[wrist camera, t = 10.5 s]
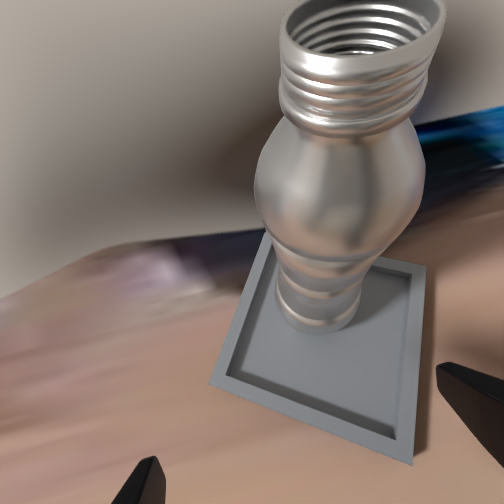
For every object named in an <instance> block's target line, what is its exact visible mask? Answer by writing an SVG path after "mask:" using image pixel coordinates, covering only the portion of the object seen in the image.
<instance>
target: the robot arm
mask: <svg viewBox="0 0 504 504" xmlns="http://www.w3.org/2000/svg"><path fill="white" fill-rule="evenodd" d="M436 377H437V387H438V389H439V392H440V393H441V395H442V396H443V397H444V398H445V400H446V401H447V402H448V403H449V405H450V406H451V407H452V408H453V410H454V411H455V412H456V413H457V415H458V416H459V417H460V418H461V420H462V421H463V422H464V423H465V425H466V426H467V427H468V428H469V430H470V431H471V432H472V433H473V435H474V436H475V437H476V438H477V439H478V441H479V442H480V443H481V444H482V445H483V446H484V447H485V449H486V450H487V451H488V452H489V453H490V454H491V455H492V456H493V457H494V458H495V459H496V460H497V461H498V463H499V464H500V465H501V466H502V467H503V468H504V380H502V379H499V378H496V377H493V376H490V375H487V374H484V373H482V372H479V371H476V370H473V369H470V368H467V367H464V366H461V365H458V364H456V363H453V362H445V363H442V364H439V365H437V366H436ZM165 496H166V478H165V474H164V472H163V470H162V467H161V465H160V463H159V461H158V459H157V457H156V456H150V457H147V458H144V459H142V460H141V461H140V462H139V463H138V465H137V466H136V468H135V469H134V471H133V472H132V473H131V475H130V476H129V478H128V479H127V481H126V482H125V484H124V485H123V487H122V488H121V490H120V491H119V493H118V494H117V496H116V497H115V499H114V500H113V502H112V503H111V504H165Z"/></svg>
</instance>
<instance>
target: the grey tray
mask: <svg viewBox="0 0 504 504" xmlns="http://www.w3.org/2000/svg"><path fill="white" fill-rule="evenodd" d="M426 268H427V266H424V265H420V264H415V263H410V262H405V261H401V260H396V259H391V258H386V257H382V256H379V257H378V258H377V259H376V260H375V261H374V262H373V264H372V265H371V267H370V268H369V270H368V271H367V273H366V274H365V276H364V278H363V282H362V285H361V287H362V289H361V298H360V303H359V306H358V309H357V312H356V313H355V315H354V317H353V318H352V320H351V321H350V322H349V323H348V324H347V325H346V326H344V327H343V328H341V329H340V330H338V331H335V332H333V333H330V334H327V335H321V336H315V335H308V334H304V333H302V332H300V331H298V330H296V329H295V328H294V327H292V326H291V325H290V324H289V323H288V322H287V321H286V320H285V319H284V318H283V316H282V315H281V313H280V312H279V310H278V307H277V304H276V301H275V282H276V277H277V273H278V260H277V257H276V253H275V249H274V246H273V244H272V242H271V239H270V237H269V235H268V233H267V232H265V234H264V236H263V239H262V242H261V244H260V247H259V250H258V253H257V255H256V258H255V261H254V263H253V266H252V269H251V271H250V274H249V277H248V279H247V282H246V285H245V287H244V290H243V293H242V295H241V298H240V301H239V303H238V306H237V309H236V312H235V314H234V317H233V320H232V322H231V325H230V328H229V330H228V333H227V336H226V338H225V341H224V344H223V346H222V349H221V352H220V354H219V357H218V360H217V363H216V365H215V368H214V371H213V373H212V376H211V379H210V381H209V385H212V386H214V387H217V388H219V389H222V390H224V391H227V392H229V393H232V394H234V395H237V396H239V397H242V398H244V399H247V400H249V401H252V402H254V403H257V404H259V405H262V406H264V407H267V408H269V409H272V410H274V411H277V412H279V413H281V414H284V415H286V416H289V417H291V418H294V419H296V420H299V421H301V422H304V423H306V424H309V425H311V426H314V427H316V428H319V429H321V430H324V431H326V432H329V433H331V434H334V435H336V436H339V437H341V438H344V439H346V440H349V441H351V442H354V443H356V444H359V445H361V446H364V447H366V448H369V449H371V450H373V451H376V452H378V453H381V454H383V455H386V456H388V457H391V458H393V459H396V460H398V461H401V462H403V463H406V464H408V465H411V466H412V464H413V450H414V436H415V422H416V408H417V394H418V380H419V366H420V352H421V338H422V324H423V310H424V296H425V282H426Z"/></svg>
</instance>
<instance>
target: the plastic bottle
mask: <svg viewBox="0 0 504 504" xmlns="http://www.w3.org/2000/svg"><path fill="white" fill-rule="evenodd" d="M446 16H447V4H446V2H445V0H298V1H297V2H296V3H295V4H293V5H292V6H291V7H290V8H289V9H288V10H287V12H286V13H285V14H284V16H283V19H282V20H281V27H280V38H279V42H280V56H281V57H280V58H281V72H282V74H281V77H280V79H279V99H280V105H281V109H282V111H283V113H284V115H285V116H284V117H283V118H282V119H281V121H280V122H279V123H278V125H277V126H276V128H275V129H274V131H273V132H272V134H271V136H270V138H269V139H268V141H267V143H266V145H265V146H264V148H263V150H262V152H261V155H260V158H259V160H258V165H257V170H256V175H255V183H254V194H255V201H256V204H257V207H258V211H259V214H260V217H261V219H262V222H263V224H264V226H265V228H266V231H267V233H268V235H269V237H270V239H271V242H272V244H273V246H274V249H275V253H276V257H277V260H278V273H277V277H276V282H275V301H276V304H277V307H278V310H279V312H280V313H281V315H282V316H283V318H284V319H285V320H286V321H287V322H288V323H289V324H290V325H291V326H292V327H294V328H295V329H296V330H298V331H300V332H302V333H304V334H308V335H315V336H321V335H327V334H330V333H333V332H335V331H338V330H340V329H341V328H343V327H344V326H346V325H347V324H348V323H349V322H350V321H351V320H352V318H353V317H354V315H355V313H356V312H357V309H358V306H359V303H360V298H361V289H362V287H361V285H362V282H363V278H364V276H365V274H366V273H367V271H368V270H369V268H370V267H371V265H372V264H373V262H374V261H375V260H376V259H377V258H378V257H379V256H380V255H381V254H382V253H383V252H384V250H385V249H386V248H387V247H388V246H389V245H390V244H391V243H392V242H393V241H394V240H395V239H396V238H397V237H398V236H399V235H400V234H401V233H402V232H403V230H404V229H405V227H406V226H407V225H408V224H409V222H410V221H411V219H412V218H413V216H414V215H415V213H416V211H417V210H418V208H419V205H420V202H421V198H422V195H423V187H424V179H425V160H424V157H423V153H422V150H421V147H420V143H419V140H418V137H417V134H416V131H415V129H414V127H413V125H412V123H411V121H410V119H409V116H410V115H412V113H413V112H414V111H415V109H416V108H417V107H418V105H419V102H420V99H421V97H422V95H423V92H424V90H425V87H426V84H427V81H428V71H427V70H428V67H429V65H430V62H431V59H432V57H433V55H434V52H435V50H436V47H437V44H438V42H439V39H440V37H441V34H442V32H443V29H444V26H445V19H446Z"/></svg>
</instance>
